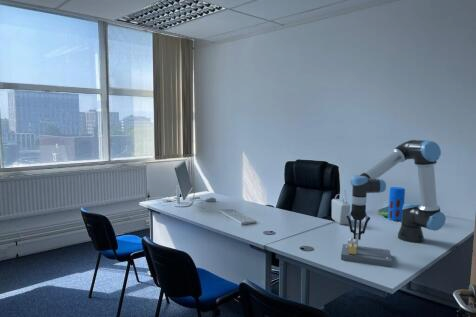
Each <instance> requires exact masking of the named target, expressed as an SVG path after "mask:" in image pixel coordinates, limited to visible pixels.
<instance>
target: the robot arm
mask: <svg viewBox="0 0 476 317" xmlns="http://www.w3.org/2000/svg"><path fill="white" fill-rule="evenodd" d="M441 152H442V151H441V148H440V146H439V144H438V143H437V142H436V141H432V140H425V139H424V140H422V139H420V140H419V139H411V140H407V141H405V142H403V143H401V144H399V145H397V146H396V147H394V148H393V149H392V150H391V153H389V154H388V155H386V156H384V157H383V158H382V159H380V160H379V161H378V162H376V163H375V164H374V165H371V167H370V168H368V169H366V170H365V171H363V172H362V173H360V174H359V175H358V174H357V175H352V176H351V178H350V180H349V181H350V182H349V183H350V186H351V187H352V194H351V203H352V204H351V209H350V214H347V216H346V217H347V219H348V222H349V223H348V225H349V231H350V233H352V234H353V239H356V242H355V244H357V246H359V241H360V240H361V237H362V234H365V232H366V229H367V226H368V224H369V221H370V220H371V217H370V216H368V215H367V212H366V211H367V209H366V208H367V205H366V204H367V194H373V193H374V194H379V193H383V192H385V191H386V189H387V183H386V181H385V180H384V179H382V178H381V179H380V177H381V176H383V175H384V174H386V173H387V172H388V171H390V170H391V169H393V167H395V166H397V165H398V164H400V163H404V162H405V161H407V160H414V161H413V162H414V165H415V166H416V167H417V175H418V176H417V177H418V188H419V200H420V201H419V202H420V203H417V202H416V203H415V202H412V203H410V202H409V203H404V205H403V209H402V221H401V225H400V228H399V230H398V232H397V238H398V239H400V240H402V241H405V242H409V243H422V242H424V241H425V240H424V239H425V238H424V237H425V236H424V232H423V229H422V228H425V229H428V230H430V231H439V230H441V229H442V228H443V227H444V226H445V224H446V215H445V214H444V213H443V212H442V211H441V206H440V205H438V202H437V201H438V200H437V190H436V189H437V186H436V176H435V175H436V174H435V165H436V164H437V161H438V160H439V159H440V157H441V155H442V153H441ZM351 218H352V219H353V221H354V223H353V224H354V225H353V224H352V219H351ZM364 219H365V221H364V225H363V227H362V221H363V220H364ZM357 221H359V223H358V232H357Z"/></svg>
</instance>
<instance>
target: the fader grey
mask: <svg viewBox="0 0 476 317" xmlns="http://www.w3.org/2000/svg"><path fill="white" fill-rule="evenodd" d="M355 242H356V239H354V237H353V238H350V237H348V238H347V245H348V248H349V243H350V244H355Z"/></svg>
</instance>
